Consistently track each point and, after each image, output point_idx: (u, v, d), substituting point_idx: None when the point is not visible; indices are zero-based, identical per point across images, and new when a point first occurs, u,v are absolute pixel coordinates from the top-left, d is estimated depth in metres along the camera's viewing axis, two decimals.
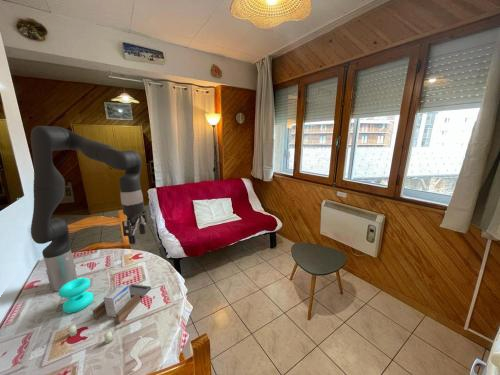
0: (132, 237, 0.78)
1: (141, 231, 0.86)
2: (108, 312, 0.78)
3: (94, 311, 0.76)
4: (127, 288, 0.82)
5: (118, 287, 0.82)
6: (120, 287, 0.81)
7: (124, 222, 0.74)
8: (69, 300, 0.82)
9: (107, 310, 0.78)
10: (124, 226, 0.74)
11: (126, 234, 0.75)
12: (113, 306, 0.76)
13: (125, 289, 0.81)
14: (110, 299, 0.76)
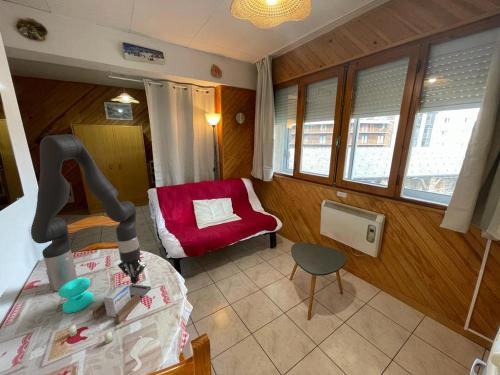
0: None
1: None
2: (108, 312, 0.78)
3: (94, 311, 0.76)
4: (127, 288, 0.82)
5: (118, 287, 0.82)
6: (120, 287, 0.81)
7: (143, 267, 0.86)
8: (69, 300, 0.82)
9: (107, 310, 0.78)
10: (142, 269, 0.86)
11: (139, 273, 0.88)
12: (113, 306, 0.76)
13: (125, 289, 0.81)
14: (110, 299, 0.76)
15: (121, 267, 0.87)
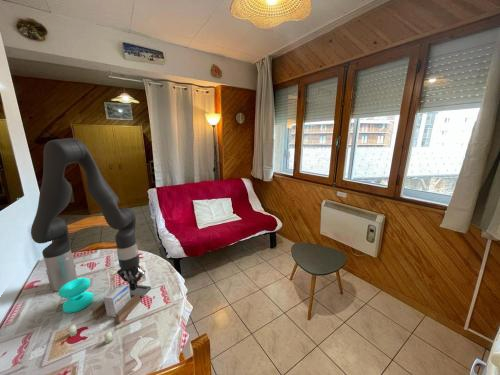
0: None
1: None
2: (108, 312, 0.78)
3: (94, 311, 0.76)
4: (127, 288, 0.82)
5: (118, 287, 0.82)
6: (120, 287, 0.81)
7: (143, 274, 0.86)
8: (69, 300, 0.82)
9: (107, 310, 0.78)
10: (141, 276, 0.86)
11: (138, 279, 0.87)
12: (113, 306, 0.76)
13: (125, 289, 0.81)
14: (110, 299, 0.76)
15: (120, 274, 0.87)
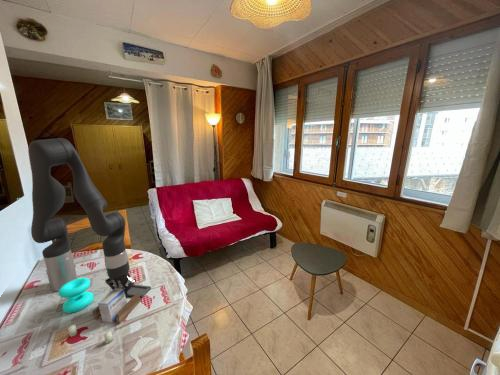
0: None
1: None
2: (104, 317, 0.75)
3: (94, 311, 0.76)
4: (122, 292, 0.80)
5: (113, 291, 0.79)
6: (115, 292, 0.79)
7: (133, 283, 0.80)
8: (69, 300, 0.82)
9: (102, 315, 0.75)
10: (131, 285, 0.80)
11: (128, 289, 0.82)
12: (108, 311, 0.74)
13: (120, 293, 0.79)
14: (105, 305, 0.73)
15: (108, 283, 0.81)
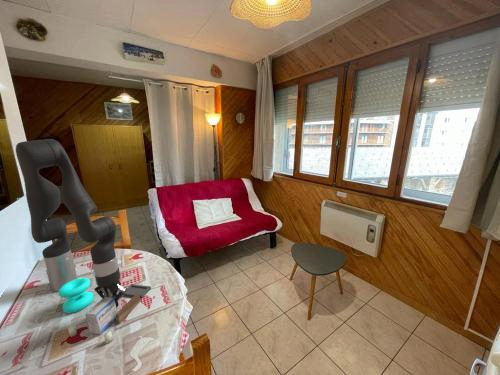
0: None
1: None
2: (92, 329, 0.70)
3: None
4: (112, 301, 0.75)
5: (102, 301, 0.74)
6: (104, 301, 0.74)
7: (123, 291, 0.75)
8: (69, 300, 0.82)
9: (90, 327, 0.70)
10: (121, 294, 0.76)
11: (119, 297, 0.77)
12: (97, 323, 0.69)
13: (110, 303, 0.74)
14: (93, 316, 0.69)
15: (98, 291, 0.77)
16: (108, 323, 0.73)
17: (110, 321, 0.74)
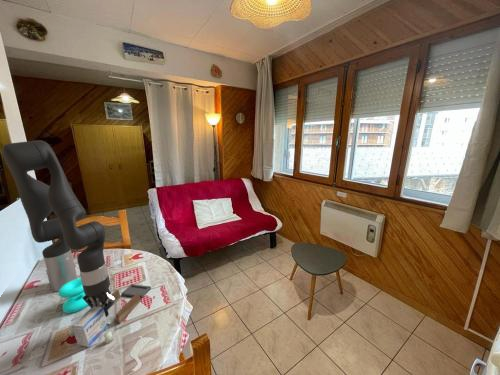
0: (107, 309, 0.74)
1: None
2: (79, 341, 0.66)
3: None
4: (101, 311, 0.71)
5: (90, 311, 0.70)
6: (92, 311, 0.70)
7: (113, 301, 0.71)
8: (69, 300, 0.82)
9: (78, 339, 0.66)
10: (111, 303, 0.71)
11: (109, 307, 0.73)
12: (84, 335, 0.65)
13: (99, 312, 0.70)
14: (80, 328, 0.64)
15: (86, 300, 0.72)
16: (97, 334, 0.69)
17: (99, 332, 0.70)
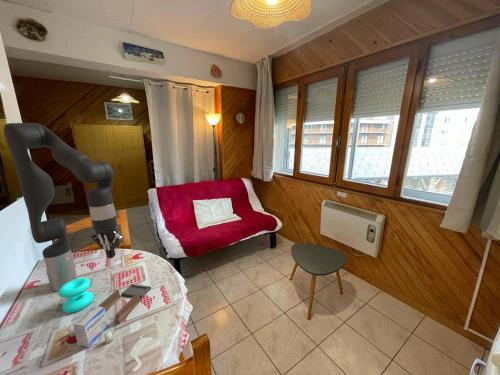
0: None
1: None
2: (79, 341, 0.66)
3: None
4: (103, 311, 0.71)
5: (92, 310, 0.70)
6: (94, 311, 0.70)
7: (120, 239, 0.75)
8: (69, 300, 0.82)
9: (78, 339, 0.66)
10: (118, 242, 0.75)
11: (116, 246, 0.76)
12: (85, 334, 0.65)
13: (100, 312, 0.70)
14: (81, 327, 0.65)
15: (95, 239, 0.76)
16: (97, 334, 0.69)
17: (99, 332, 0.70)
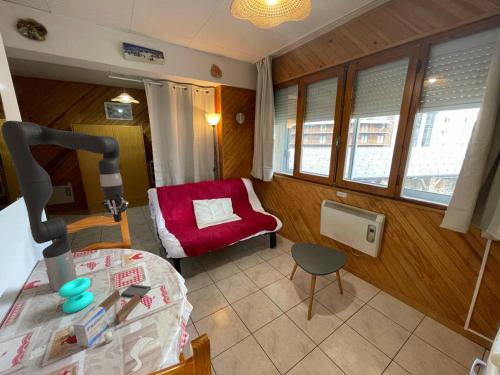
0: None
1: None
2: (79, 341, 0.66)
3: None
4: (102, 311, 0.71)
5: (92, 310, 0.70)
6: (94, 311, 0.70)
7: (126, 204, 0.86)
8: (69, 300, 0.82)
9: (78, 339, 0.66)
10: (124, 206, 0.86)
11: (122, 211, 0.88)
12: (85, 334, 0.65)
13: (100, 312, 0.70)
14: (81, 327, 0.65)
15: (104, 205, 0.87)
16: (97, 334, 0.69)
17: (99, 332, 0.70)
